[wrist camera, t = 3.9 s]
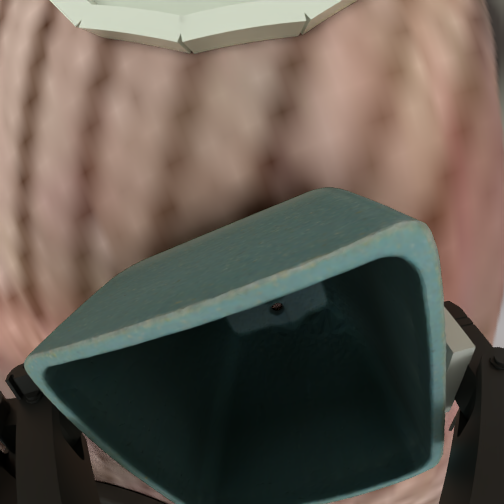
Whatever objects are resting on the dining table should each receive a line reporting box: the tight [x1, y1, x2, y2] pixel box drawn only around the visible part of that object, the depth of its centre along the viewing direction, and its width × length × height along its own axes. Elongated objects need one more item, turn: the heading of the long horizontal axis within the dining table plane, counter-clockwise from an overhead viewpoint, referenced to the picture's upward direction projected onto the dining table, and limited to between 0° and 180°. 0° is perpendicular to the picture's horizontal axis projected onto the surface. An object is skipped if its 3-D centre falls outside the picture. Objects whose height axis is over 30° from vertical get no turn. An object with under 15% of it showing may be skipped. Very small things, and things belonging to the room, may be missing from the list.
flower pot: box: [24, 187, 446, 504], centre depth 10 cm, size 9×9×9 cm
